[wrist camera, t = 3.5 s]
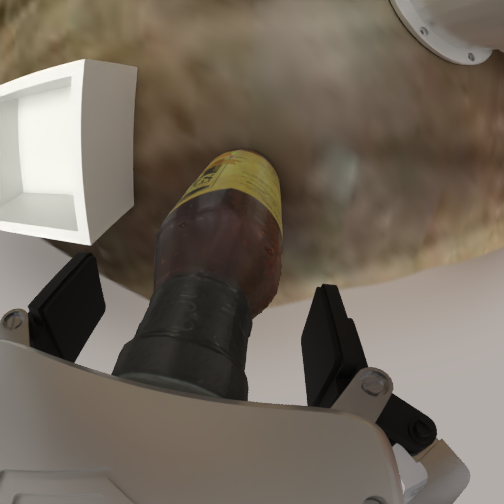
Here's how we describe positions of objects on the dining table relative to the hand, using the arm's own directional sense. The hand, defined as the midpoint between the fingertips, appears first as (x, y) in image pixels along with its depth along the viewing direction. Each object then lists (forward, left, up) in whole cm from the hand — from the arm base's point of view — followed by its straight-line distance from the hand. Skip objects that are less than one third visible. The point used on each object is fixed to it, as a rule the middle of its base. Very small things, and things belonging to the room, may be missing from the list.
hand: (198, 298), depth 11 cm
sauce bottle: (0, 0, -15) cm, 15 cm away
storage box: (+18, -4, -15) cm, 23 cm away
